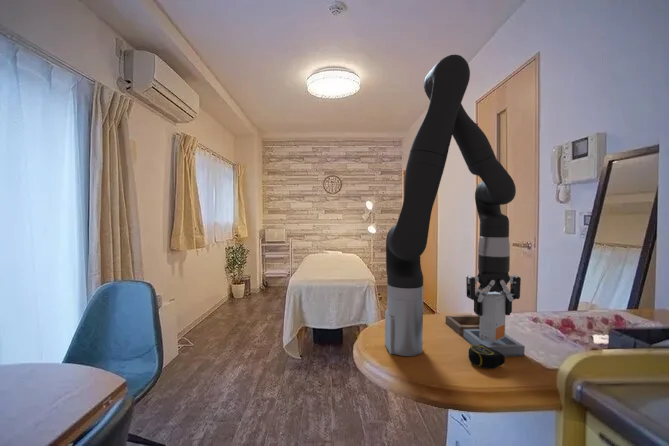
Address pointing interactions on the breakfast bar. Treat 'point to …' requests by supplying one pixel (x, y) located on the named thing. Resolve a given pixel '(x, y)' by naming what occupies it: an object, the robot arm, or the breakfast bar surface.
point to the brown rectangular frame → (462, 322)
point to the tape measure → (485, 356)
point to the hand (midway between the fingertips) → (492, 314)
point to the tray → (496, 343)
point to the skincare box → (493, 317)
